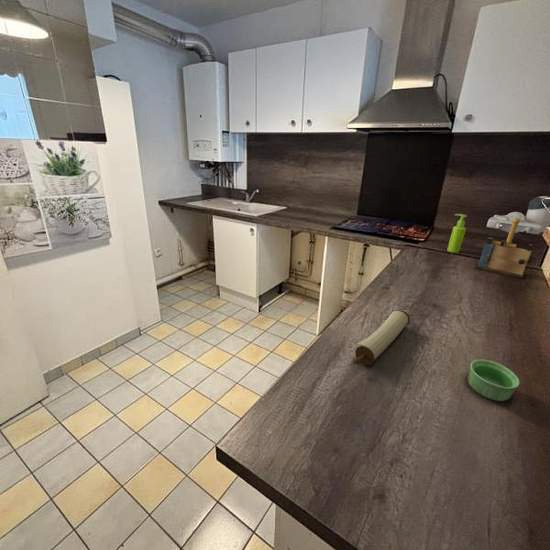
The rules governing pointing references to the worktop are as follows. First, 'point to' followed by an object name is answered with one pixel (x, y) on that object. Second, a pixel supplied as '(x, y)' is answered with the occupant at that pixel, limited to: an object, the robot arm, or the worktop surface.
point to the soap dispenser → (457, 235)
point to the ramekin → (492, 380)
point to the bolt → (510, 234)
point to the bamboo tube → (381, 338)
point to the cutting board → (504, 259)
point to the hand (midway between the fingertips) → (512, 228)
